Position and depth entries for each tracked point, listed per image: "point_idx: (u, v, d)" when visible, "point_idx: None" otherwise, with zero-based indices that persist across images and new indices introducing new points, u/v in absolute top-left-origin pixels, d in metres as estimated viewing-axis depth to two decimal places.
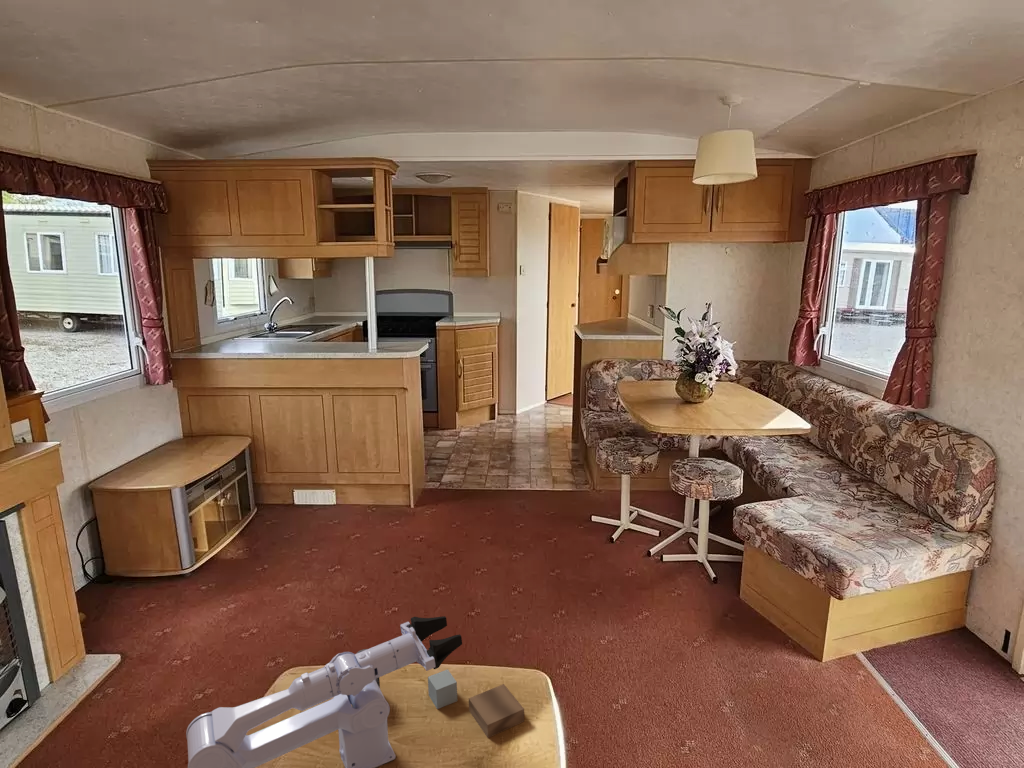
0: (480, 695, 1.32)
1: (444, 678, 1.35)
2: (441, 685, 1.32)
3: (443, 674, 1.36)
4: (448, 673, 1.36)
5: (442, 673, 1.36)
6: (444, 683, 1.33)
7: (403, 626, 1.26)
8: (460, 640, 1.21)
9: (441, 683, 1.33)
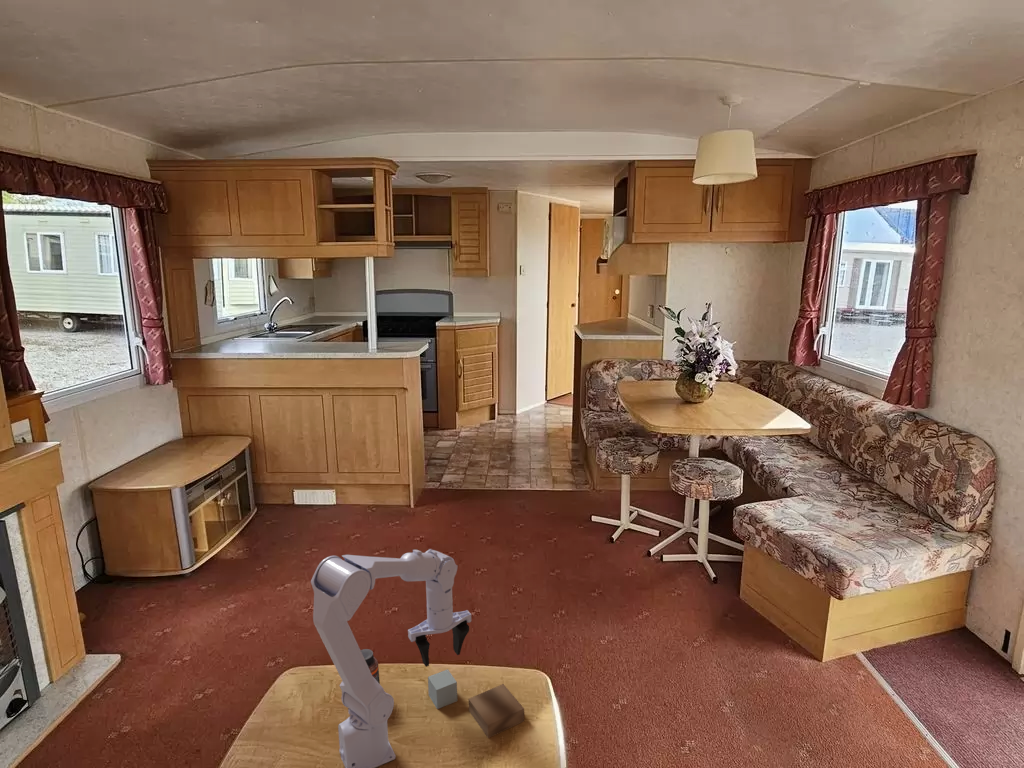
0: (480, 695, 1.32)
1: (444, 678, 1.35)
2: (441, 685, 1.32)
3: (443, 674, 1.36)
4: (448, 673, 1.36)
5: (442, 673, 1.36)
6: (444, 683, 1.33)
7: None
8: None
9: (441, 683, 1.33)
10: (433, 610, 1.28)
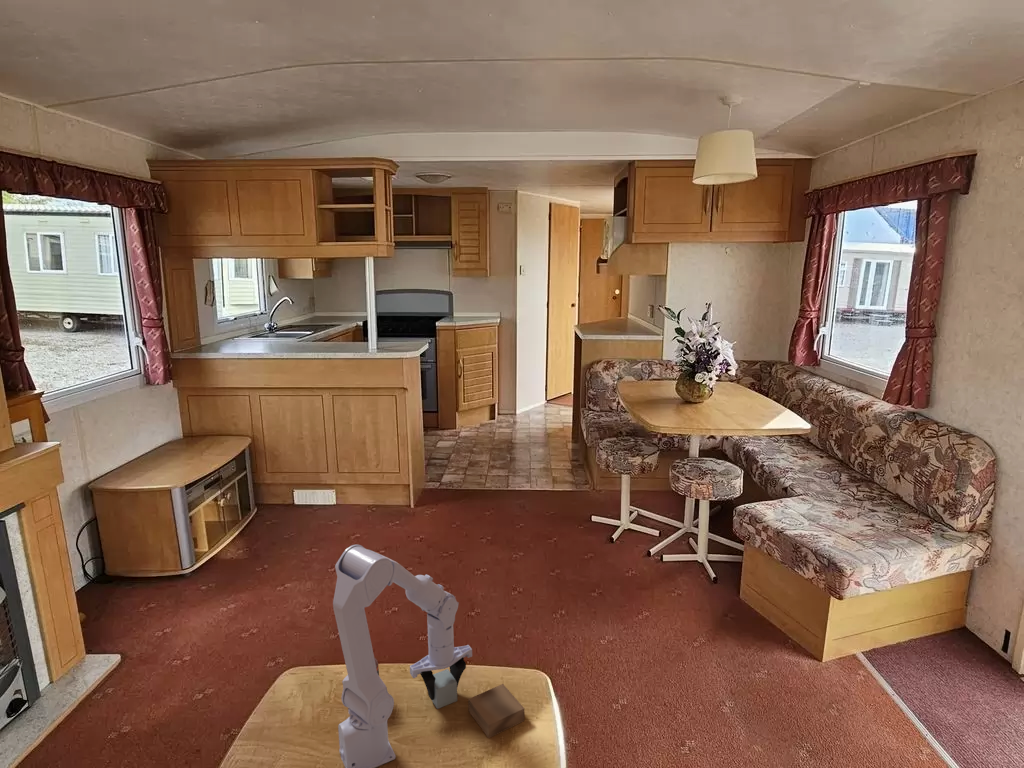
0: (480, 695, 1.31)
1: (444, 677, 1.35)
2: (441, 685, 1.32)
3: (443, 674, 1.36)
4: (448, 673, 1.36)
5: (442, 673, 1.36)
6: (444, 682, 1.33)
7: None
8: None
9: (441, 682, 1.33)
10: (434, 647, 1.30)
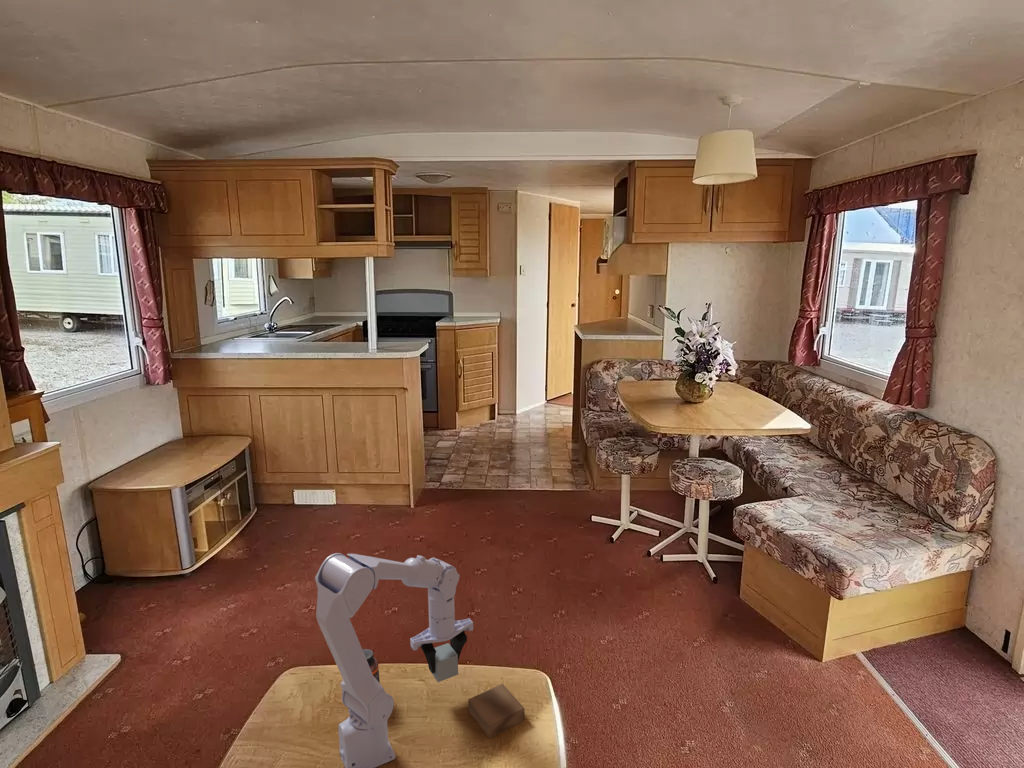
0: (479, 696, 1.31)
1: (445, 651, 1.33)
2: (441, 658, 1.31)
3: (444, 647, 1.34)
4: (449, 646, 1.35)
5: (443, 646, 1.35)
6: (445, 656, 1.31)
7: None
8: None
9: (442, 656, 1.31)
10: (435, 619, 1.28)
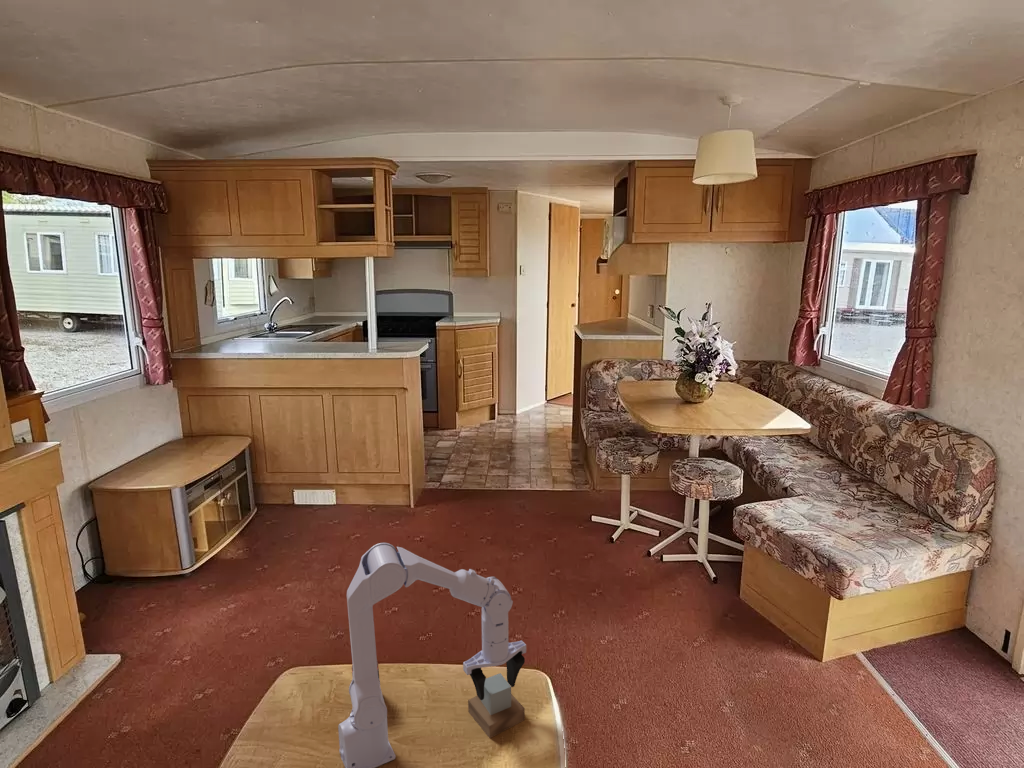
0: None
1: (497, 682, 1.29)
2: (494, 690, 1.26)
3: (496, 678, 1.30)
4: (501, 677, 1.30)
5: (495, 677, 1.30)
6: (498, 687, 1.27)
7: None
8: None
9: (495, 687, 1.27)
10: (489, 642, 1.23)
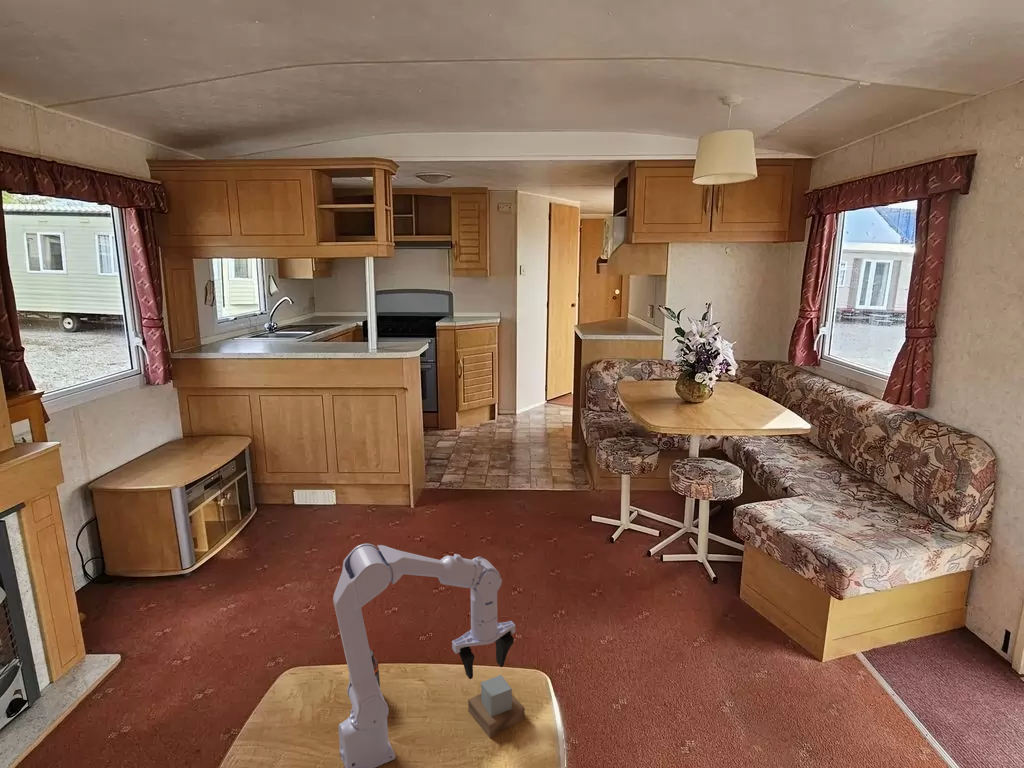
0: (479, 696, 1.31)
1: (498, 684, 1.28)
2: (495, 692, 1.26)
3: (497, 680, 1.29)
4: (502, 679, 1.30)
5: (496, 679, 1.30)
6: (499, 689, 1.26)
7: None
8: None
9: (496, 689, 1.26)
10: (478, 621, 1.24)
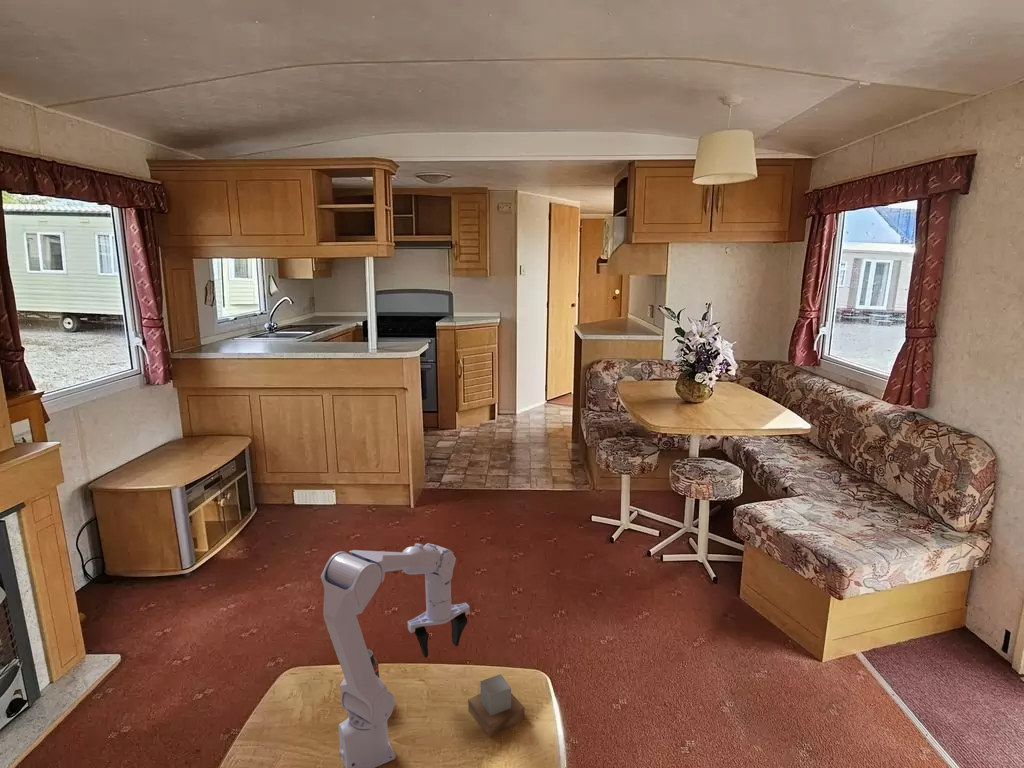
0: (479, 695, 1.32)
1: (497, 683, 1.28)
2: (494, 691, 1.26)
3: (496, 679, 1.30)
4: (501, 678, 1.30)
5: (495, 678, 1.30)
6: (498, 688, 1.27)
7: None
8: None
9: (495, 688, 1.27)
10: (432, 602, 1.31)
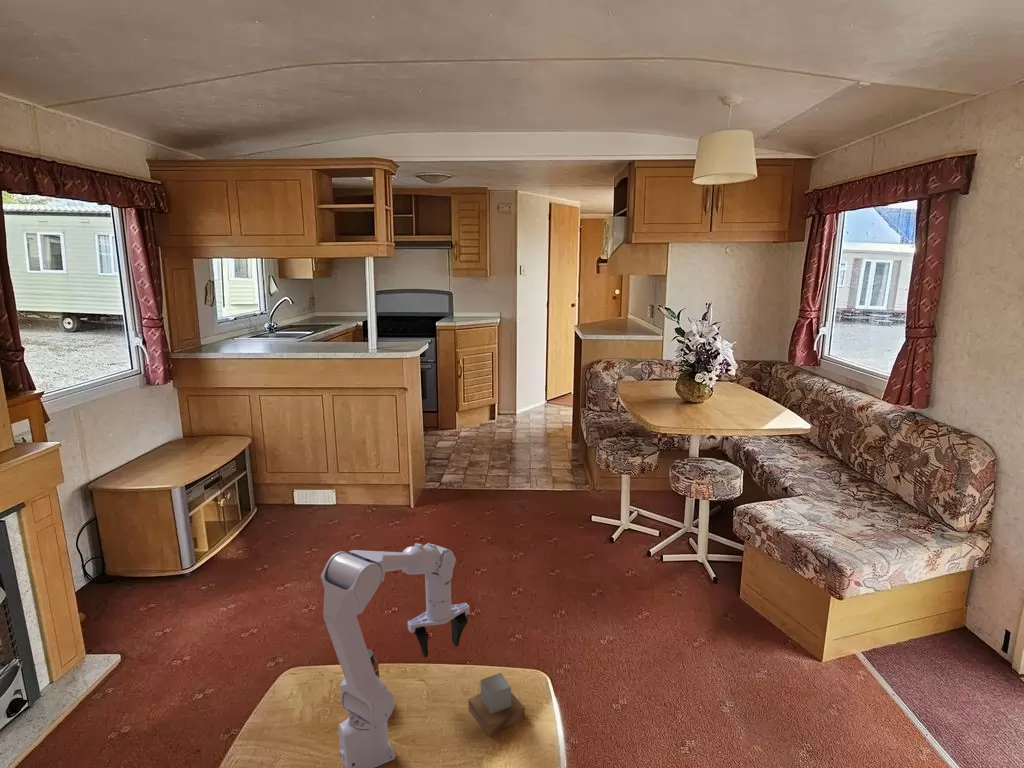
0: (480, 695, 1.32)
1: (497, 682, 1.29)
2: (494, 690, 1.26)
3: (496, 678, 1.30)
4: (501, 677, 1.30)
5: (495, 676, 1.30)
6: (498, 687, 1.27)
7: None
8: None
9: (495, 687, 1.27)
10: (432, 602, 1.31)
